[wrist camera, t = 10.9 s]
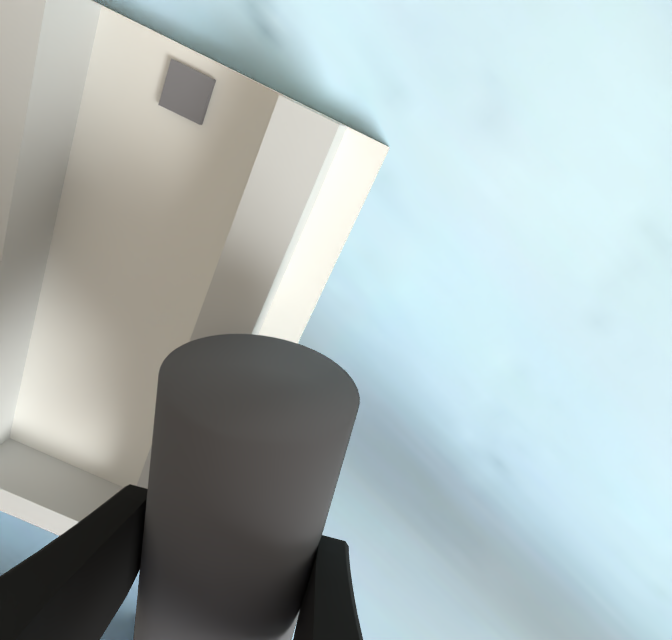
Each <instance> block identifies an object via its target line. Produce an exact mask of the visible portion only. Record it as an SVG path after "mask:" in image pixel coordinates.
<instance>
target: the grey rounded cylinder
mask: <svg viewBox="0 0 672 640" xmlns="http://www.w3.org/2000/svg"><path fill="white" fill-rule="evenodd" d="M359 404H360V397H359V393H358V389H357V387H356V385H355V383H354V381H353V380H352V378H351V377H350V376H349V375H348V374H347V372H346V371H345V370H343V369H342V368H341V367H340V366H339V365H338V364H336V363H335V362H334V361H332V360H331V359H329V358H328V357H326V356H324V355H323V354H321V353H319V352H317V351H315V350H312V349H310V348H308V347H305V346H303V345H300V344H297V343H294V342H291V341H287V340H284V339H279V338H275V337H269V336H263V335H254V334H222V335H214V336H208V337H203V338H199V339H196V340H193V341H190V342H188V343H186V344H183V345H181V346H180V347H178V348H176V349H175V350H174V351H172V352H171V353H170V354H169V355H168V356H167V357H166V358H165V359H164V361H163V363H162V364H161V366H160V370H159V374H158V385H157V395H156V406H155V417H154V427H153V438H152V448H151V459H150V469H149V480H148V490H147V501H146V511H145V522H144V533H143V543H142V554H141V564H140V575H139V585H138V596H137V606H136V617H135V627H134V638H133V640H291V639H292V636H293V632H294V629H295V626H296V622H297V619H298V615H299V610H300V606H301V603H302V600H303V596H304V593H305V589H306V586H307V582H308V579H309V575H310V572H311V569H312V565H313V562H314V558H315V555H316V551H317V548H318V544H319V542H320V539H321V536H322V532H323V529H324V526H325V522H326V519H327V515H328V512H329V508H330V505H331V501H332V498H333V495H334V491H335V488H336V484H337V481H338V477H339V474H340V470H341V467H342V464H343V460H344V457H345V453H346V450H347V446H348V443H349V439H350V436H351V432H352V429H353V426H354V422H355V419H356V415H357V412H358V408H359Z"/></svg>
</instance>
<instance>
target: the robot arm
mask: <svg viewBox="0 0 672 640" xmlns="http://www.w3.org/2000/svg"><path fill="white" fill-rule="evenodd" d="M147 490H148V489H146V488H143V487H139V486H135V485H131V484H129V485H127V486H125V487H124V488H123V489H121V490H120V491H119V492H117V493H116V494H115V495H114V496H112V497H111V498H110V499H108V500H107V501H106V502H105V503H103V504H102V505H101V506H99V507H98V508H97V509H96V510H94V511H93V512H92V513H90V514H89V515H88V516H86V517H85V518H84V519H82V520H81V521H80V522H78V523H77V524H76V525H74V526H73V527H71V528H70V529H69V530H67V531H66V532H64V533H63V534H62V535H60V536H59V537H58V538H56V539H55V540H53V541H52V542H51V543H49V544H48V545H46V546H45V547H44V548H42V549H41V550H39V551H38V552H36V553H35V554H33V555H32V556H30V557H29V558H27V559H26V560H24V561H23V562H21V563H20V564H18V565H17V566H15V567H14V568H12V569H11V570H9V571H8V572H6V573H4V574H3V575H1V576H0V640H100V638H101V636H102V635H103V633H104V632H105V630H106V628H107V627H108V625H109V624H110V622H111V620H112V619H113V617H114V616H115V614H116V612H117V611H118V609H119V608H120V606H121V604H122V603H123V601H124V599H125V598H126V596H127V594H128V592H129V590H130V588H131V586H132V584H133V582H134V580H135V578H136V576H137V574H138V572H139V570H140V564H141V554H142V543H143V533H144V522H145V511H146V501H147ZM293 640H363V637H362V633H361V628H360V624H359V619H358V615H357V609H356V604H355V599H354V592H353V586H352V579H351V572H350V562H349V546H348V545H347V543H346V542H345V541H342V540H338V539H335V538H331V537H327V536H323V535H322V536H321V539H320V542H319V544H318V548H317V551H316V555H315V558H314V562H313V565H312V569H311V572H310V575H309V579H308V582H307V586H306V589H305V593H304V596H303V600H302V603H301V606H300V610H299V615H298V620H297V625H296V629H295V634H294V639H293Z"/></svg>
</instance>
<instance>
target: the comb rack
mask: <svg viewBox="0 0 672 640" xmlns="http://www.w3.org/2000/svg"><path fill="white" fill-rule="evenodd" d="M389 148H390V147H389V146H387V145H385V144H383V143H381V142H378V141H376V140H374V139H372V138H370V137H368V136H366V135H364V134H362V133H360V132H358V131H356V130H354V129H352V128H350V127H348V126H346V125H344V124H342V123H340V122H338V121H336V120H334V119H332V118H330V117H328V116H326V115H324V114H322V113H320V112H318V111H316V110H314V109H312V108H310V107H308V106H306V105H304V104H302V103H299V102H297V101H295V100H293V99H291V98H289V97H287V96H285V95H283V94H281V93H279V92H277V91H275V90H273V89H271V88H269V87H267V86H265V85H263V84H261V83H259V82H257V81H255V80H253V79H251V78H249V77H247V76H245V75H243V74H241V73H239V72H237V71H235V70H233V69H231V68H229V67H227V66H225V65H222V64H220V63H218V62H216V61H214V60H212V59H210V58H208V57H206V56H204V55H202V54H200V53H198V52H196V51H194V50H192V49H190V48H188V47H186V46H184V45H182V44H180V43H178V42H176V41H174V40H172V39H170V38H168V37H166V36H164V35H162V34H160V33H158V32H156V31H154V30H152V29H150V28H148V27H146V26H143V25H141V24H139V23H137V22H135V21H133V20H131V19H129V18H127V17H125V16H123V15H121V14H119V13H117V12H115V11H113V10H111V9H109V8H107V7H105V6H103V5H101V4H99V3H97V2H95V1H93V0H0V511H2V512H5V513H7V514H9V515H12V516H14V517H16V518H19V519H21V520H24V521H26V522H28V523H31V524H33V525H35V526H38V527H40V528H42V529H45V530H47V531H49V532H52V533H54V534H56V535H59V536H60V535H62V534H63V533H64V532H66V531H67V530H69V529H70V528H71V527H73V526H74V525H76V524H77V523H78V522H80V521H81V520H82V519H84V518H85V517H86V516H88V515H89V514H90V513H92V512H93V511H94V510H96V509H97V508H98V507H99V506H101V505H102V504H103V503H105V502H106V501H107V500H108V499H110V498H111V497H112V496H114V495H115V494H116V493H117V492H119V491H120V490H121V489H123V488H124V487H125V486H127V485H129V484H131V485H135V486H139V487H143V488H146V489H148V480H149V469H150V459H151V448H152V438H153V427H154V417H155V406H156V395H157V385H158V374H159V370H160V366H161V364H162V363H163V361H164V359H165V358H166V357H167V356H168V355H169V354H170V353H171V352H172V351H174V350H175V349H176V348H178V347H180V346H181V345H183V344H186V343H188V342H190V341H193V340H196V339H199V338H203V337H208V336H214V335H222V334H254V335H263V336H269V337H275V338H279V339H284V340H287V341H291V342H294V343H297V344H298V342H299V340H300V338H301V336H302V334H303V331H304V329H305V327H306V325H307V323H308V321H309V319H310V317H311V314H312V312H313V310H314V308H315V306H316V304H317V302H318V299H319V297H320V295H321V293H322V291H323V289H324V287H325V285H326V282H327V280H328V278H329V276H330V274H331V272H332V270H333V268H334V265H335V263H336V261H337V259H338V257H339V255H340V253H341V250H342V248H343V246H344V244H345V242H346V240H347V238H348V236H349V233H350V231H351V229H352V227H353V225H354V223H355V221H356V219H357V216H358V214H359V212H360V210H361V208H362V206H363V204H364V202H365V199H366V197H367V195H368V193H369V191H370V189H371V187H372V184H373V182H374V180H375V178H376V176H377V174H378V172H379V170H380V167H381V165H382V163H383V161H384V159H385V157H386V155H387V153H388V150H389Z"/></svg>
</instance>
